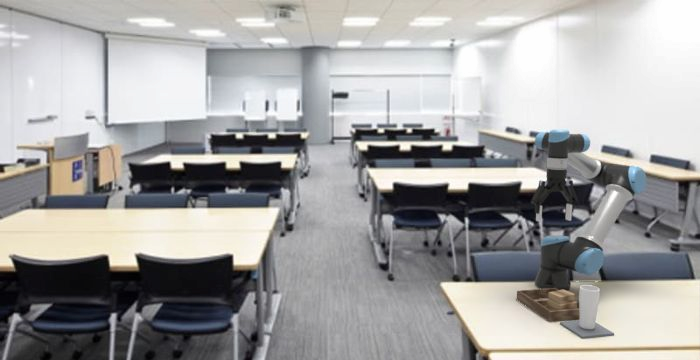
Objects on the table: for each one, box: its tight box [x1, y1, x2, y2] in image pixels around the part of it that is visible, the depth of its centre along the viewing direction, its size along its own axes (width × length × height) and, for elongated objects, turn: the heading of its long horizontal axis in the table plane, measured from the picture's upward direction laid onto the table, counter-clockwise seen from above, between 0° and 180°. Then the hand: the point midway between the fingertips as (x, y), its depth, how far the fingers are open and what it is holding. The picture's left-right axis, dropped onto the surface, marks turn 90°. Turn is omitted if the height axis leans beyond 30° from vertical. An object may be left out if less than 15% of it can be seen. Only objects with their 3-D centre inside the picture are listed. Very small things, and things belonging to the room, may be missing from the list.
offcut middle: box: [546, 298, 578, 311], centre depth 215 cm, size 9×7×3 cm
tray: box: [516, 288, 579, 323], centre depth 221 cm, size 18×24×4 cm
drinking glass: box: [578, 284, 601, 330], centre depth 200 cm, size 7×7×15 cm
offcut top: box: [547, 290, 576, 305], centre depth 215 cm, size 8×6×3 cm
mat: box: [559, 319, 615, 340], centre depth 201 cm, size 13×13×1 cm
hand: (553, 220), depth 223 cm, fingers open, 13 cm apart
